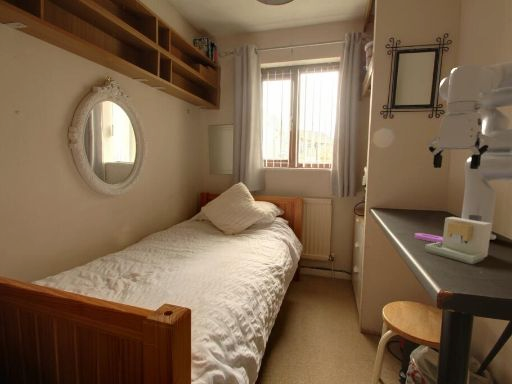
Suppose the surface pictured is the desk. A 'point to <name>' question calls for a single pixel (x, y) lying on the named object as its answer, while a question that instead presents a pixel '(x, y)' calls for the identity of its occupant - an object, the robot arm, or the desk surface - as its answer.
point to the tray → (454, 253)
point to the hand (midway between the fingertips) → (454, 168)
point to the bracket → (429, 237)
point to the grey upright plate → (459, 238)
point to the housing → (478, 236)
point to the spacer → (460, 230)
